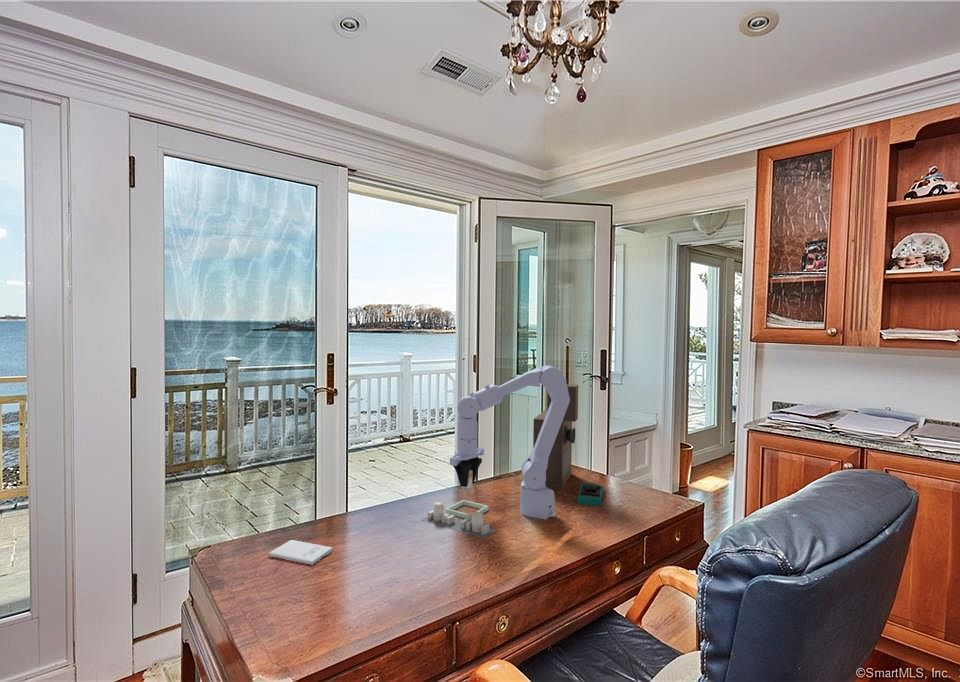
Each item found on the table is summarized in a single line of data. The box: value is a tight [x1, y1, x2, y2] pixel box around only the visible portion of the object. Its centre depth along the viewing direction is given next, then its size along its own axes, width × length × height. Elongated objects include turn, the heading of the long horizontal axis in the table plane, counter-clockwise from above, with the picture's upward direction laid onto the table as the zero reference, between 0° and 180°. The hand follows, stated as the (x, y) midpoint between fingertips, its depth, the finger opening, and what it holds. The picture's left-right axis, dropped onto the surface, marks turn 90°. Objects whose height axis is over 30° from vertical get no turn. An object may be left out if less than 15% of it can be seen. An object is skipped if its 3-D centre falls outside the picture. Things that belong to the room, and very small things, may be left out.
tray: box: [444, 499, 489, 521], centre depth 148 cm, size 9×9×2 cm
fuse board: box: [421, 509, 497, 539], centre depth 138 cm, size 21×6×3 cm, turn 57°
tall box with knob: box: [532, 383, 579, 490], centre depth 181 cm, size 19×14×35 cm
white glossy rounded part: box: [432, 501, 445, 522], centre depth 142 cm, size 3×3×4 cm
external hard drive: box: [268, 539, 334, 566], centre depth 123 cm, size 2×8×12 cm
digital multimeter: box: [576, 483, 604, 507], centre depth 164 cm, size 7×15×3 cm, turn 164°
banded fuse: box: [461, 469, 473, 492], centre depth 148 cm, size 3×3×6 cm
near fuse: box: [471, 511, 484, 533], centre depth 134 cm, size 3×3×4 cm
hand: (467, 484), depth 148 cm, fingers closed on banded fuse, 3 cm apart
